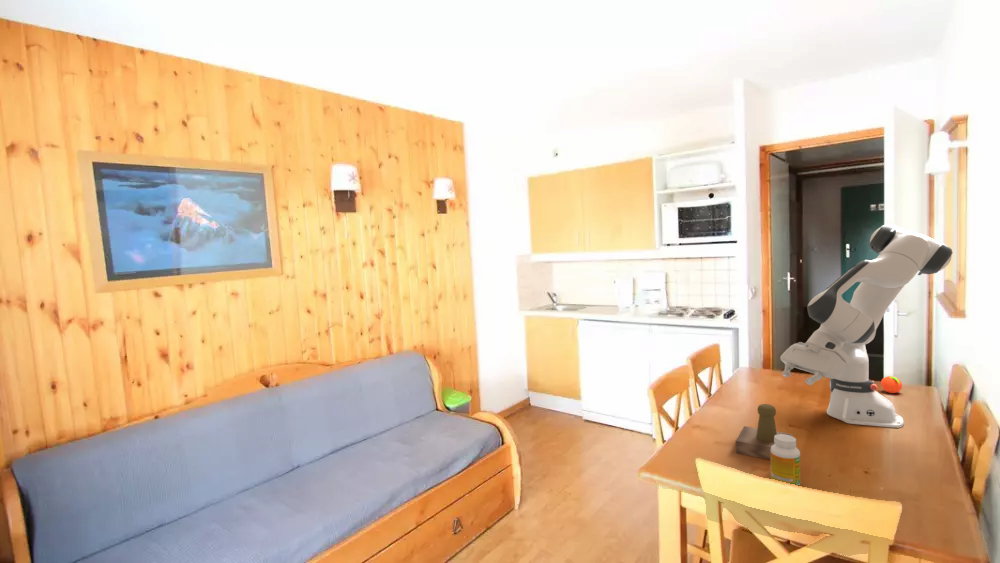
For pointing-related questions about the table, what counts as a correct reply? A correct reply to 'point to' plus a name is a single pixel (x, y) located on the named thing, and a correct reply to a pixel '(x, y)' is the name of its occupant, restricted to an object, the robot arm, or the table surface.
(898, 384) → the clementine
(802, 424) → the table surface
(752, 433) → the walnut plinth
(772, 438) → the olive pawn
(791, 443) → the supplement bottle
